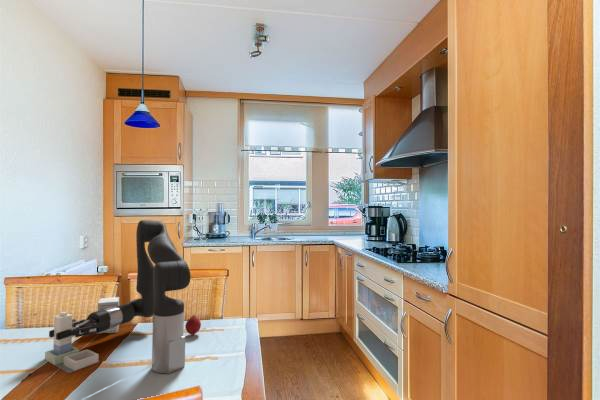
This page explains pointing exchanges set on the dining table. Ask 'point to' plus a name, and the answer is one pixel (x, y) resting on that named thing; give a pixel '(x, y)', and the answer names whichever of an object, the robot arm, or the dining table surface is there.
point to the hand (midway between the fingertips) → (53, 335)
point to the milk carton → (61, 324)
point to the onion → (193, 325)
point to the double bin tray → (72, 359)
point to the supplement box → (108, 303)
